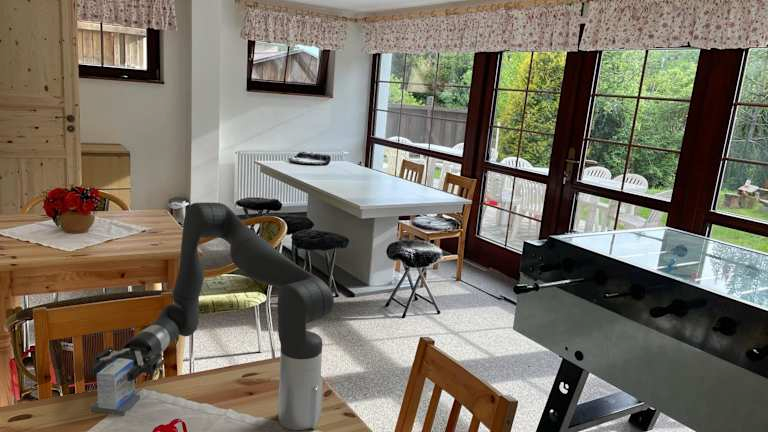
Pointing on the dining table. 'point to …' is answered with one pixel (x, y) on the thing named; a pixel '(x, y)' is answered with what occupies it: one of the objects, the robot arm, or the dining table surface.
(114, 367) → the medicine box
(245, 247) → the robot arm
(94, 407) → the plate
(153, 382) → the dining table surface
